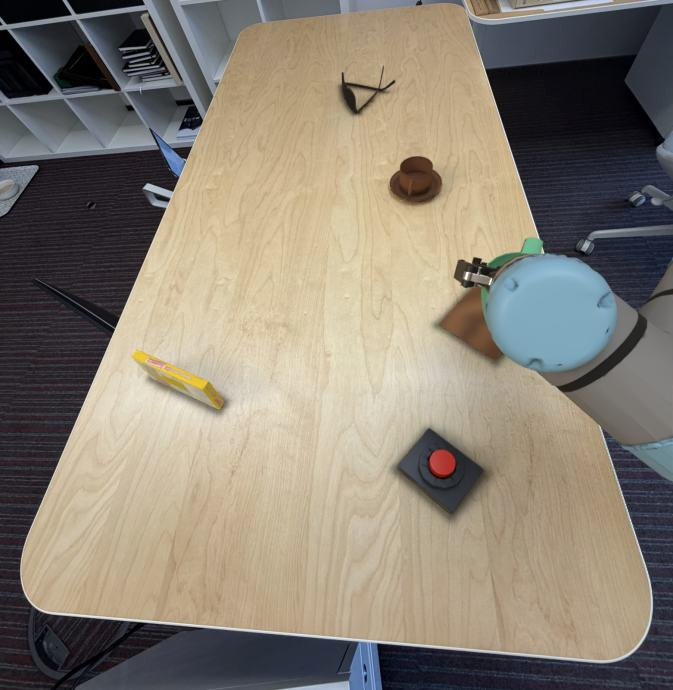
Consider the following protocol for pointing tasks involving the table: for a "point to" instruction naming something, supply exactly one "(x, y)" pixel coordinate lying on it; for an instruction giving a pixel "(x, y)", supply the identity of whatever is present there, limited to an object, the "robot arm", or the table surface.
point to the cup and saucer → (415, 180)
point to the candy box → (179, 379)
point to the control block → (438, 488)
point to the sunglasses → (350, 95)
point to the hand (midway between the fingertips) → (518, 279)
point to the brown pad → (471, 324)
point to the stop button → (442, 463)
